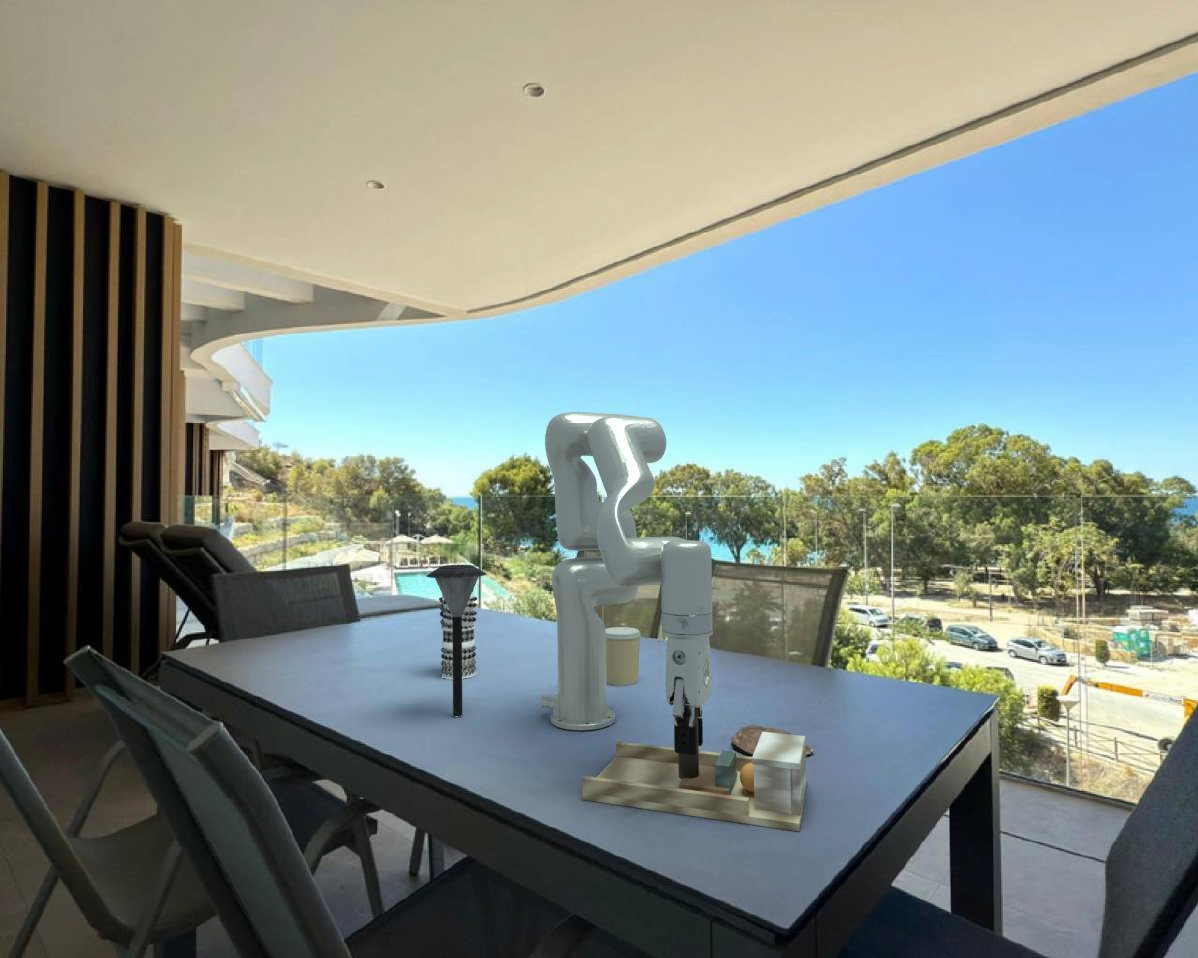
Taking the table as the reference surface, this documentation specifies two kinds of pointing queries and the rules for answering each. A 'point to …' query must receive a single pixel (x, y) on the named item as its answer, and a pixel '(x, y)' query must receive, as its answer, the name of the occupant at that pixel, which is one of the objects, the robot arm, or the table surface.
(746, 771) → the ball
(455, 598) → the solar garden light
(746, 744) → the shell
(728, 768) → the kicker
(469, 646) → the decorative candle
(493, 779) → the table surface
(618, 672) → the coffee cup
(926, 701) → the table surface
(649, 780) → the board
